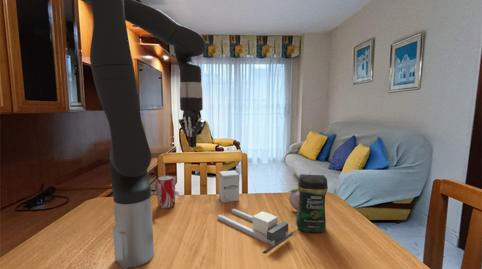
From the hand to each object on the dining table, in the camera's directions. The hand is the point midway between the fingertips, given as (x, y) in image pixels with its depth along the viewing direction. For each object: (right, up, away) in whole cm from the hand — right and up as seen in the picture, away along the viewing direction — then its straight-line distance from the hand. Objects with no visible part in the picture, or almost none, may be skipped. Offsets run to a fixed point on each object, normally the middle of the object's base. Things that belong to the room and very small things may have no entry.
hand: (192, 146), depth 88 cm
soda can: (-14, -25, +17) cm, 33 cm away
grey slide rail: (+20, -28, -3) cm, 34 cm away
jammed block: (+24, -27, -7) cm, 37 cm away
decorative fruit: (+40, -26, +11) cm, 49 cm away
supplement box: (+12, -25, +21) cm, 35 cm away
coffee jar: (+40, -28, -2) cm, 49 cm away
